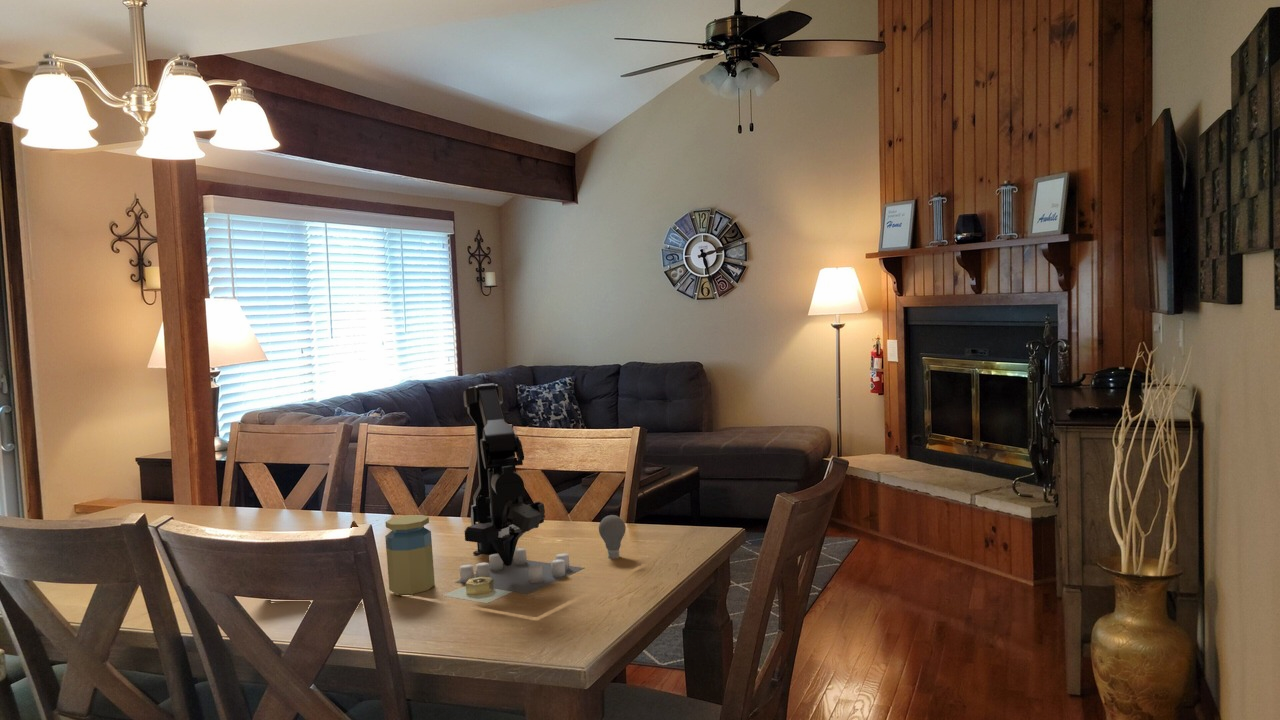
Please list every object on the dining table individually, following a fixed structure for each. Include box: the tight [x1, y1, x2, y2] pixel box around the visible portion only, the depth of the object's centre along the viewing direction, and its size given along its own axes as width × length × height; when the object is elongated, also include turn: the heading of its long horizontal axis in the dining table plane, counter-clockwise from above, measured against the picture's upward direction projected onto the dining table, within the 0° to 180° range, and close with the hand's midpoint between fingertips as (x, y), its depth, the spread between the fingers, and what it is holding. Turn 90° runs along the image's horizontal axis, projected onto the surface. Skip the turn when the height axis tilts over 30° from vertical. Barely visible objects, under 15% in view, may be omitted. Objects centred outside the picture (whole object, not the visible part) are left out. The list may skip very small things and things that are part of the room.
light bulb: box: [598, 514, 627, 560], centre depth 203 cm, size 6×6×10 cm
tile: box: [442, 585, 512, 604], centre depth 183 cm, size 12×8×1 cm, turn 57°
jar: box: [385, 514, 436, 596], centre depth 189 cm, size 9×9×15 cm
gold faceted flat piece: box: [465, 576, 494, 596], centre depth 184 cm, size 6×5×2 cm
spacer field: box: [454, 547, 585, 595], centre depth 193 cm, size 20×19×4 cm
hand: (508, 565), depth 190 cm, fingers closed
